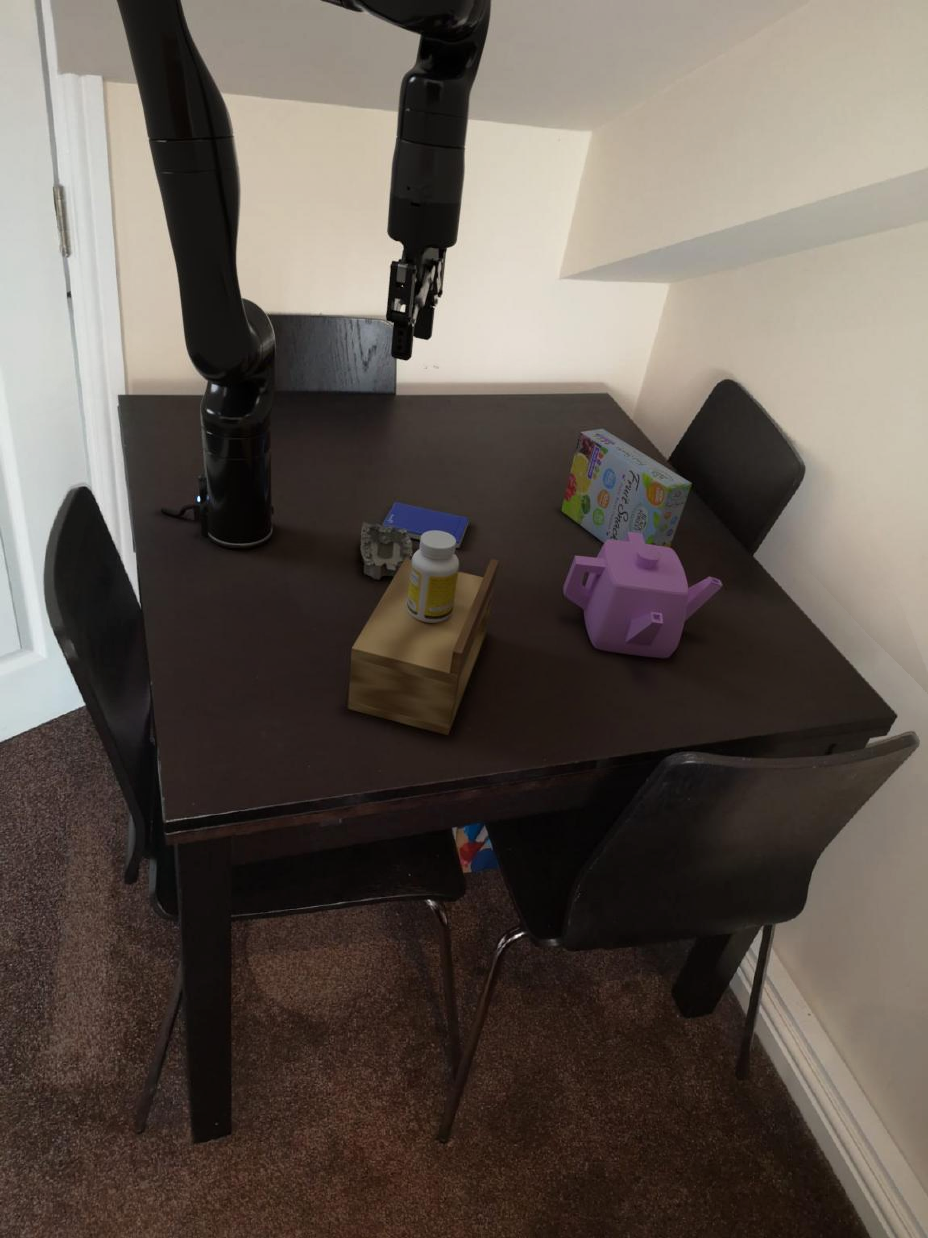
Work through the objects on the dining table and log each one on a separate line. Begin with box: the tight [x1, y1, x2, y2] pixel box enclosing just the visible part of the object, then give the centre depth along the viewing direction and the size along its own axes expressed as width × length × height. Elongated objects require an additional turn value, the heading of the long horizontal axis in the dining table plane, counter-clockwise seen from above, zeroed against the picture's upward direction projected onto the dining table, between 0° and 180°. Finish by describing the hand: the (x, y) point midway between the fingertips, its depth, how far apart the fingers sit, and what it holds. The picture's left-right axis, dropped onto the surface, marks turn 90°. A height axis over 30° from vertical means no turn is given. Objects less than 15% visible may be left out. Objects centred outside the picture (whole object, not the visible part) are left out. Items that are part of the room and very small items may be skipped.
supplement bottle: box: [407, 530, 460, 623], centre depth 91 cm, size 5×5×10 cm
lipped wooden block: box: [347, 558, 500, 736], centre depth 95 cm, size 12×20×12 cm, turn 167°
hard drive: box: [381, 502, 470, 549], centre depth 127 cm, size 2×8×12 cm
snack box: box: [561, 428, 693, 548], centre depth 128 cm, size 21×6×15 cm, turn 33°
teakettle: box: [562, 531, 723, 659], centre depth 109 cm, size 17×17×12 cm
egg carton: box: [360, 521, 414, 580], centre depth 117 cm, size 11×8×4 cm
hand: (411, 347), depth 92 cm, fingers open, 8 cm apart
